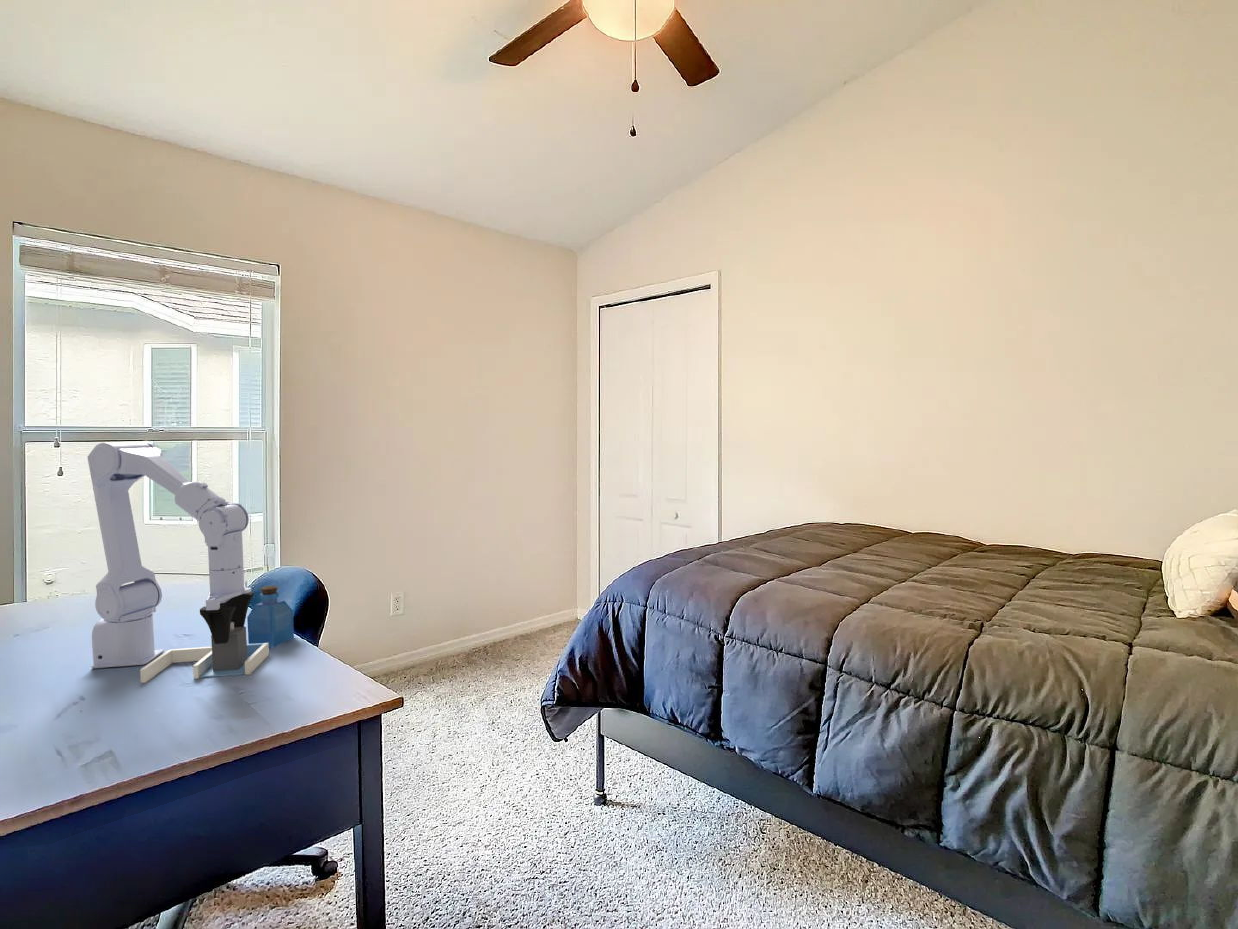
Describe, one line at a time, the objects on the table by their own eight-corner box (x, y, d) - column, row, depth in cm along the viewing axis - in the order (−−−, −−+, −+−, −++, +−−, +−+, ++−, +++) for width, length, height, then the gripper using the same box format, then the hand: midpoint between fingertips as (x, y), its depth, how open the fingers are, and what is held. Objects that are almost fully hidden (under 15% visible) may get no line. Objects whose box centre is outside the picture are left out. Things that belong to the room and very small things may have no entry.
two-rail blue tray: (140, 682, 119) (140, 669, 119) (169, 661, 130) (168, 649, 129) (249, 674, 123) (249, 661, 122) (269, 654, 133) (268, 642, 133)
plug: (213, 671, 123) (210, 627, 123) (222, 663, 128) (220, 620, 127) (238, 669, 124) (236, 626, 124) (247, 661, 129) (245, 619, 128)
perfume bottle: (273, 647, 138) (271, 591, 137) (248, 645, 139) (245, 590, 138) (293, 637, 144) (291, 584, 143) (269, 636, 145) (267, 583, 144)
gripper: (234, 575, 118) (237, 647, 119) (262, 558, 133) (264, 623, 134) (191, 577, 117) (195, 650, 118) (224, 560, 131) (227, 625, 132)
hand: (229, 636), depth 126 cm, fingers open, 7 cm apart
